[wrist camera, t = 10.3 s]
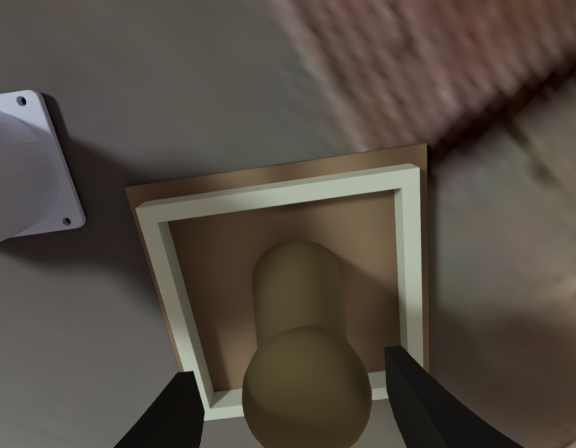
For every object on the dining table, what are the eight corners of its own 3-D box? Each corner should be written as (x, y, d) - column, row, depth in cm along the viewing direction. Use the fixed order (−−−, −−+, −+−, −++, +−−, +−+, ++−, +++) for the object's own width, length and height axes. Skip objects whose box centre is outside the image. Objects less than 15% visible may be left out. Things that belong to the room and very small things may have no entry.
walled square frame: (203, 403, 26) (199, 421, 24) (145, 201, 21) (135, 208, 19) (415, 377, 25) (423, 393, 24) (409, 163, 20) (419, 167, 19)
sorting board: (195, 411, 27) (193, 415, 26) (127, 186, 21) (124, 187, 20) (427, 382, 26) (429, 386, 26) (424, 142, 20) (426, 143, 20)
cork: (302, 220, 21) (320, 328, 11) (361, 284, 23) (427, 434, 12) (232, 278, 22) (188, 426, 12) (293, 336, 24) (300, 511, 14)
